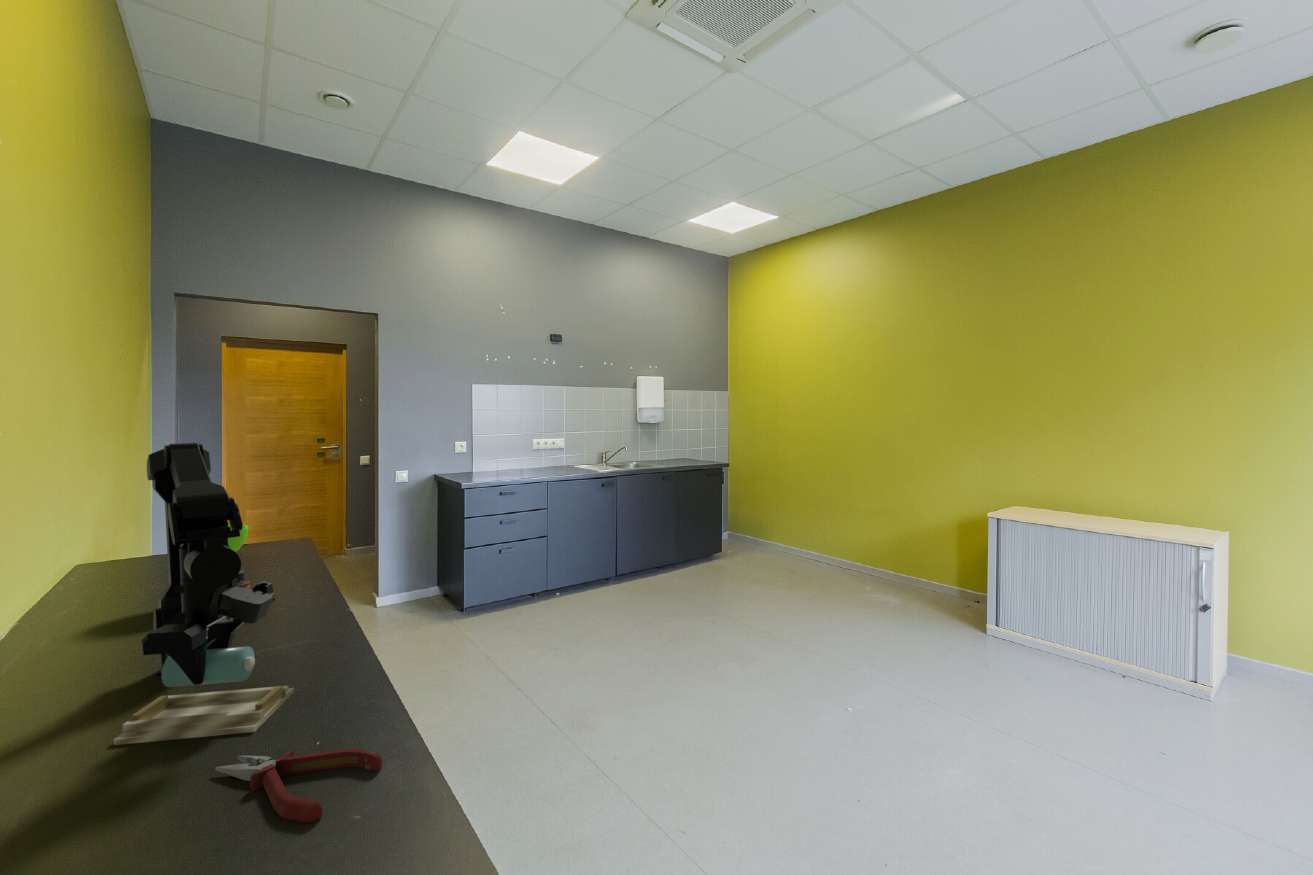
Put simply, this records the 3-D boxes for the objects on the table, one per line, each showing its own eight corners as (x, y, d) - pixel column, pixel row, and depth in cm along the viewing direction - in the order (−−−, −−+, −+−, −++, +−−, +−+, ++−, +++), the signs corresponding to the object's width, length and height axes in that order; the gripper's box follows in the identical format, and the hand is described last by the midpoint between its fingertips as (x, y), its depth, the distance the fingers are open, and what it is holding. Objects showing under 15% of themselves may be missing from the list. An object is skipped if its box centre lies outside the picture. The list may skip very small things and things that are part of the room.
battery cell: (162, 693, 83) (160, 660, 83) (185, 677, 88) (183, 646, 88) (242, 686, 85) (241, 654, 85) (260, 671, 90) (259, 640, 90)
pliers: (267, 746, 79) (266, 728, 79) (387, 768, 74) (386, 749, 74) (179, 801, 68) (177, 779, 68) (311, 831, 63) (310, 808, 63)
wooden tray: (113, 745, 79) (112, 726, 79) (172, 702, 91) (172, 687, 91) (254, 731, 82) (253, 714, 82) (294, 692, 94) (293, 677, 94)
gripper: (226, 589, 78) (231, 701, 79) (292, 557, 96) (295, 647, 97) (135, 595, 76) (141, 708, 77) (219, 561, 95) (224, 652, 95)
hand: (209, 675), depth 86 cm, fingers closed on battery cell, 5 cm apart
